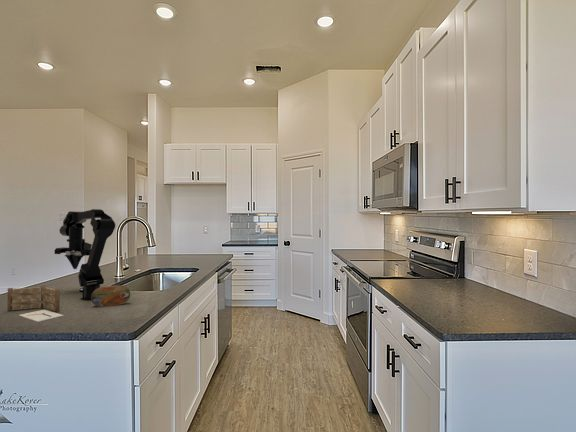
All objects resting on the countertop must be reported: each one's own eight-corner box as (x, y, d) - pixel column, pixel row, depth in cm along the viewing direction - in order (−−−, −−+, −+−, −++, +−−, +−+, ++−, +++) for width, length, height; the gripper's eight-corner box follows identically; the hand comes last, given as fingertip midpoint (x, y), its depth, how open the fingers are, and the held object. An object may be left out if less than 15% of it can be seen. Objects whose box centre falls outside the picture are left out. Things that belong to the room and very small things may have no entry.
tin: (90, 307, 145) (91, 287, 145) (91, 306, 148) (91, 286, 148) (130, 304, 152) (130, 285, 152) (129, 302, 155) (130, 283, 155)
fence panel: (40, 306, 144) (40, 285, 144) (40, 307, 143) (40, 286, 142) (7, 309, 139) (8, 288, 139) (6, 310, 137) (7, 289, 137)
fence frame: (60, 311, 139) (60, 289, 139) (55, 312, 137) (55, 289, 137) (44, 306, 145) (44, 285, 145) (39, 307, 143) (39, 286, 143)
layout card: (63, 315, 133) (63, 314, 133) (37, 322, 125) (37, 320, 125) (44, 310, 140) (44, 309, 140) (19, 315, 132) (19, 314, 132)
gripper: (104, 236, 175) (103, 267, 175) (71, 235, 178) (71, 265, 178) (88, 238, 164) (87, 271, 164) (53, 236, 167) (53, 269, 167)
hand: (75, 269), depth 168 cm, fingers closed
